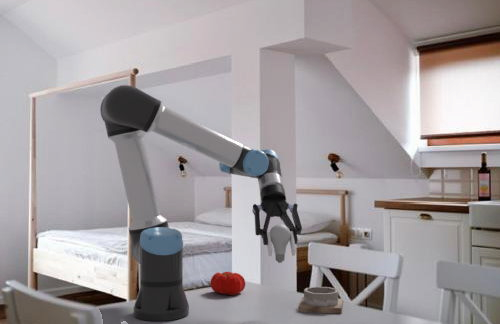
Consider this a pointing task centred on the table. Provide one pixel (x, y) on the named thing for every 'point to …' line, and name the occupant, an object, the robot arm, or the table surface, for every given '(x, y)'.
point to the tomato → (227, 283)
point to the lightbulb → (280, 240)
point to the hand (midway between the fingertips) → (282, 252)
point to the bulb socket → (321, 300)
